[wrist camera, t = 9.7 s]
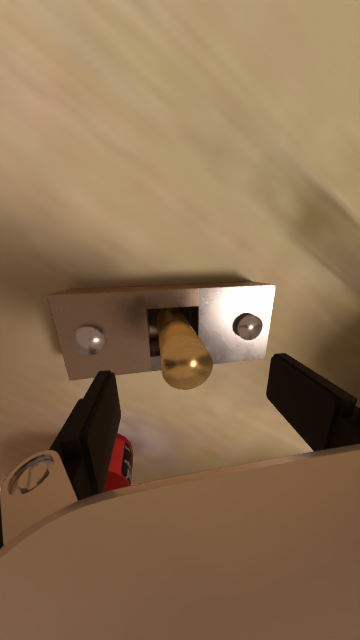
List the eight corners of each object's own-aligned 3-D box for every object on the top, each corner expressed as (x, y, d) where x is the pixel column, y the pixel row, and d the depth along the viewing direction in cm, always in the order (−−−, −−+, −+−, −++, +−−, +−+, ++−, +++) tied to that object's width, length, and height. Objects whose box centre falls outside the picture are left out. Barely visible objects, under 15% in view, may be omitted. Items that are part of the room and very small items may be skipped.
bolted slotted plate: (252, 281, 20) (280, 285, 16) (245, 342, 23) (268, 361, 18) (69, 288, 17) (42, 296, 13) (85, 358, 20) (66, 384, 15)
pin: (183, 305, 20) (213, 342, 10) (184, 331, 21) (211, 386, 11) (155, 307, 19) (160, 347, 10) (157, 333, 20) (163, 392, 11)
